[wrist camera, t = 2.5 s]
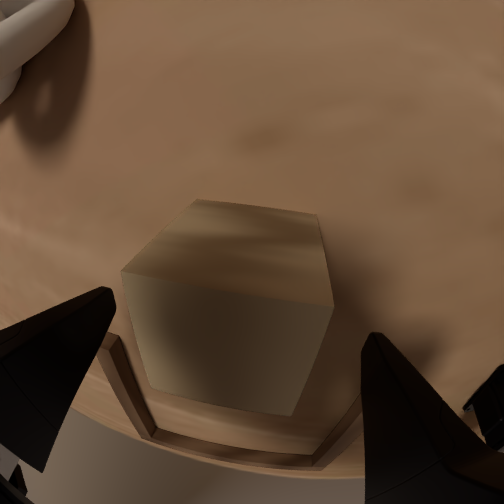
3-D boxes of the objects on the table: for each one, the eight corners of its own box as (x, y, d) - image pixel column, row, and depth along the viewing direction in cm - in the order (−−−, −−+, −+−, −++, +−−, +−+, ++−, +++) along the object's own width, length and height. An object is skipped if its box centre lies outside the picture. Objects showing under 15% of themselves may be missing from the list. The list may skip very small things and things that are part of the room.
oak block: (315, 214, 11) (334, 306, 6) (295, 309, 13) (291, 416, 8) (197, 198, 11) (120, 271, 6) (197, 294, 14) (151, 388, 8)
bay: (389, 378, 15) (393, 396, 13) (321, 459, 22) (321, 470, 21) (101, 330, 16) (91, 344, 15) (146, 428, 24) (141, 438, 23)
